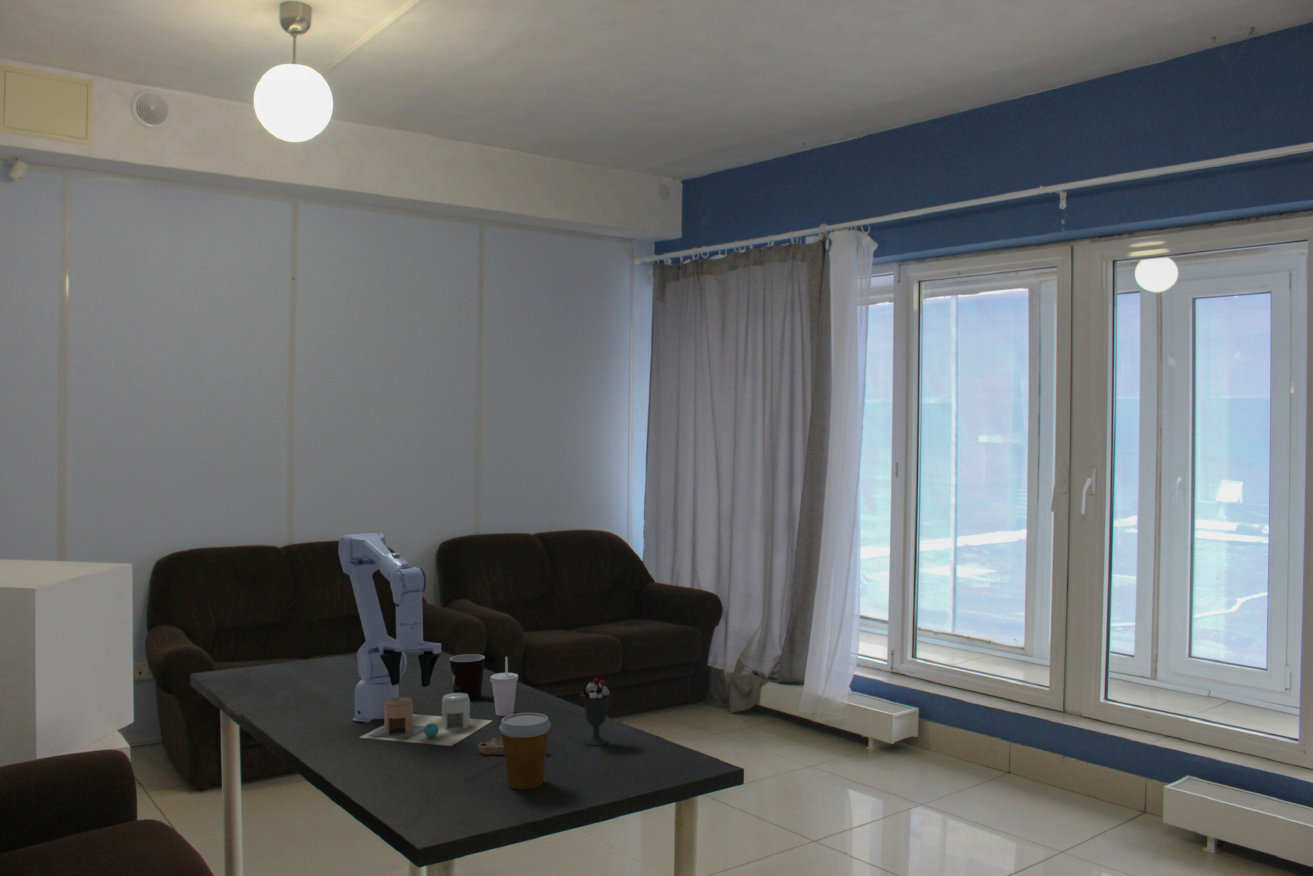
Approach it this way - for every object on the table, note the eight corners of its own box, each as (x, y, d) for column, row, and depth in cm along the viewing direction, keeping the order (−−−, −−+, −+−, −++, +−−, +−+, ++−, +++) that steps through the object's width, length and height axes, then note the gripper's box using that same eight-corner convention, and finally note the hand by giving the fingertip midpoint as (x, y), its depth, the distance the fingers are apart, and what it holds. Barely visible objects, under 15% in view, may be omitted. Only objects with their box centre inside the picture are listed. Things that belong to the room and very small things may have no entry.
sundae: (616, 739, 209) (616, 668, 209) (605, 748, 202) (604, 676, 202) (588, 736, 211) (587, 666, 211) (575, 745, 205) (574, 673, 205)
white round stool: (438, 728, 214) (438, 698, 214) (450, 721, 220) (450, 692, 220) (461, 730, 213) (461, 700, 213) (473, 723, 218) (473, 693, 218)
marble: (421, 739, 207) (421, 724, 207) (428, 735, 210) (428, 721, 210) (433, 740, 206) (433, 725, 206) (441, 736, 209) (440, 722, 209)
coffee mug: (481, 702, 239) (481, 661, 239) (446, 702, 240) (446, 662, 240) (490, 690, 251) (490, 651, 251) (457, 690, 251) (456, 651, 251)
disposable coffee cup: (501, 776, 186) (501, 712, 186) (551, 774, 187) (551, 711, 187) (497, 794, 177) (497, 727, 177) (550, 791, 178) (550, 725, 178)
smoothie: (513, 722, 222) (512, 660, 222) (486, 721, 223) (485, 659, 224) (522, 714, 228) (522, 654, 229) (496, 713, 230) (495, 653, 230)
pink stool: (380, 733, 210) (379, 703, 211) (394, 726, 216) (393, 696, 216) (403, 735, 209) (403, 704, 209) (416, 728, 214) (416, 698, 214)
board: (358, 742, 208) (358, 736, 208) (406, 718, 227) (406, 713, 227) (451, 750, 202) (451, 745, 202) (492, 725, 220) (492, 719, 220)
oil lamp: (479, 764, 194) (479, 738, 194) (476, 752, 201) (476, 728, 201) (545, 758, 197) (545, 733, 197) (540, 747, 204) (540, 723, 204)
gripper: (370, 625, 214) (371, 687, 213) (428, 627, 209) (430, 691, 209) (388, 620, 221) (389, 680, 220) (445, 621, 216) (447, 683, 216)
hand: (410, 685), depth 215 cm, fingers open, 7 cm apart
